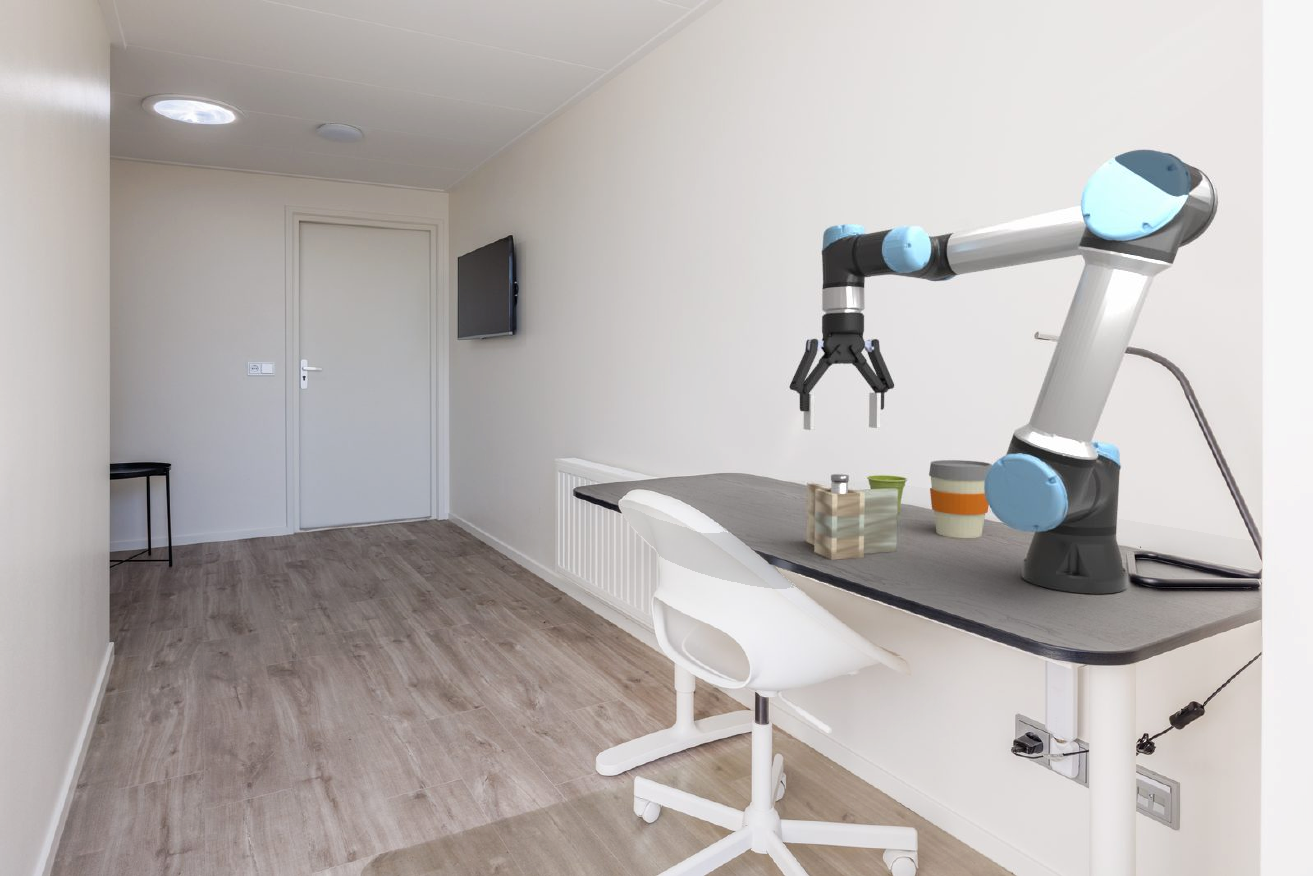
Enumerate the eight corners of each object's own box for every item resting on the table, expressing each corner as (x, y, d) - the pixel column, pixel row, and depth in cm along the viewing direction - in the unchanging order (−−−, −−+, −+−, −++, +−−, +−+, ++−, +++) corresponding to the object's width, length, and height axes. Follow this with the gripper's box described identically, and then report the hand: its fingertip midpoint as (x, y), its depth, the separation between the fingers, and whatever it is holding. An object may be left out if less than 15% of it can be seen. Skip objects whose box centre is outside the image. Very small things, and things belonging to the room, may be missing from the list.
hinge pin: (849, 556, 146) (851, 476, 145) (834, 557, 145) (836, 476, 144) (841, 552, 149) (843, 474, 148) (826, 553, 148) (827, 474, 147)
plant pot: (906, 510, 194) (907, 476, 193) (906, 517, 185) (907, 480, 184) (867, 508, 197) (867, 474, 196) (865, 515, 188) (866, 479, 187)
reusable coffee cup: (985, 542, 158) (988, 468, 156) (921, 535, 164) (923, 464, 163) (995, 531, 168) (997, 462, 167) (934, 525, 175) (936, 458, 174)
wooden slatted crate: (904, 554, 147) (906, 491, 146) (831, 559, 143) (832, 494, 142) (861, 537, 162) (862, 480, 161) (794, 542, 158) (794, 483, 157)
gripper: (891, 315, 151) (890, 425, 152) (771, 313, 144) (771, 429, 145) (914, 311, 143) (912, 427, 145) (789, 309, 136) (789, 431, 138)
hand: (842, 428), depth 145 cm, fingers open, 13 cm apart
